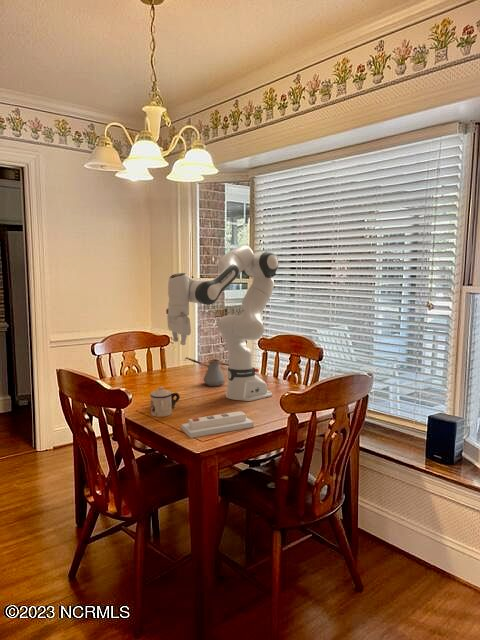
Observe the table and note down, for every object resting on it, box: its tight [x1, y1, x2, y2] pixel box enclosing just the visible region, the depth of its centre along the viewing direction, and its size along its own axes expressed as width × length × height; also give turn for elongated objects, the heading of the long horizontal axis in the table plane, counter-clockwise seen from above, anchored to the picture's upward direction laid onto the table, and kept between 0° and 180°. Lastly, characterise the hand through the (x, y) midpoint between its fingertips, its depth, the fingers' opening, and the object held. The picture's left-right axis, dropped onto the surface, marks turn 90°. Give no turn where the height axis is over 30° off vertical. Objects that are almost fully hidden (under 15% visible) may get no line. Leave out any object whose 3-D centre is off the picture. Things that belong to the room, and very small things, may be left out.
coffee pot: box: [184, 356, 226, 387], centre depth 240 cm, size 21×12×15 cm, turn 96°
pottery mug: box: [171, 392, 181, 409], centre depth 202 cm, size 12×10×8 cm
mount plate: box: [181, 416, 255, 439], centre depth 175 cm, size 26×10×2 cm, turn 116°
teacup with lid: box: [149, 386, 173, 418], centre depth 190 cm, size 12×9×12 cm
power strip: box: [188, 410, 247, 429], centre depth 175 cm, size 22×4×5 cm, turn 116°
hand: (179, 343), depth 197 cm, fingers open, 8 cm apart
